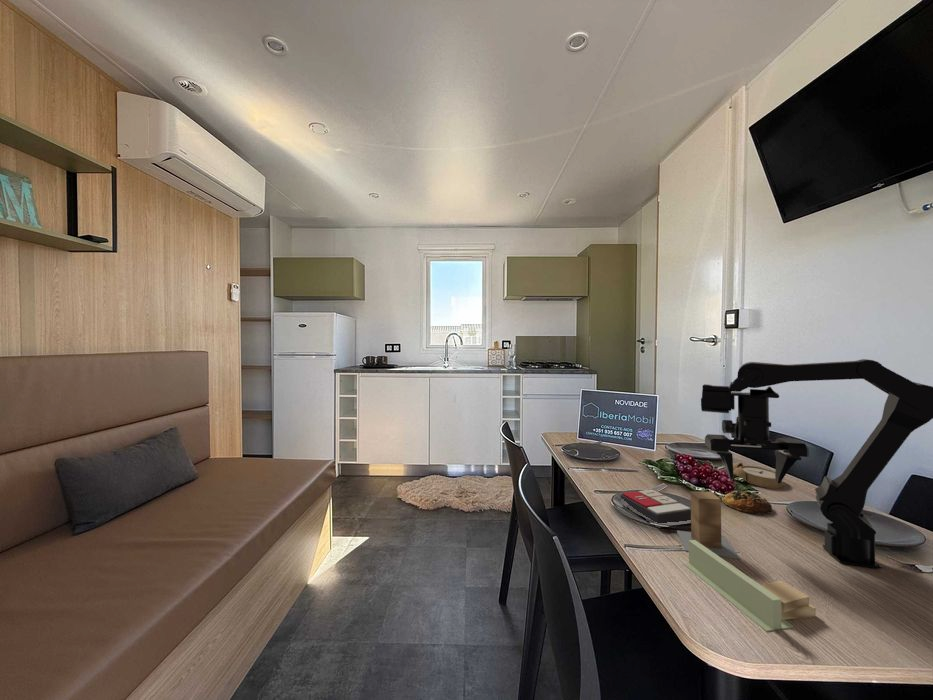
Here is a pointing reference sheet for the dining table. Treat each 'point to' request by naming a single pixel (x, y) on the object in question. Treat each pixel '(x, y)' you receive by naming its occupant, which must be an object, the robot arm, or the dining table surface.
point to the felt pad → (724, 552)
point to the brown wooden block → (706, 519)
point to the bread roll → (747, 502)
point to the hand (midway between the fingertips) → (754, 480)
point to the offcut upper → (787, 595)
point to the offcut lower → (799, 613)
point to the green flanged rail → (737, 588)
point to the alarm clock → (756, 475)
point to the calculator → (657, 506)
